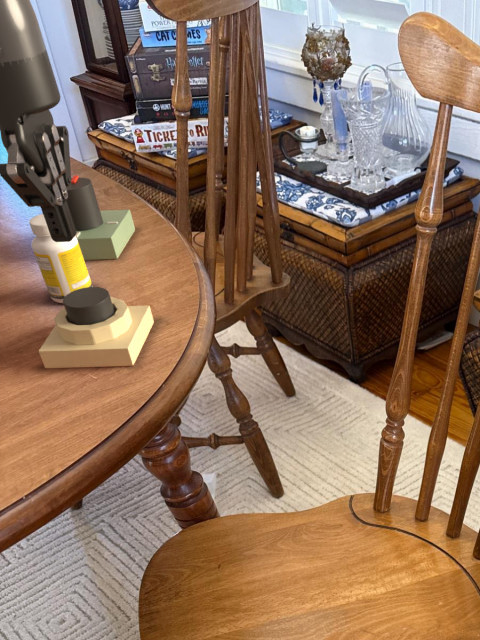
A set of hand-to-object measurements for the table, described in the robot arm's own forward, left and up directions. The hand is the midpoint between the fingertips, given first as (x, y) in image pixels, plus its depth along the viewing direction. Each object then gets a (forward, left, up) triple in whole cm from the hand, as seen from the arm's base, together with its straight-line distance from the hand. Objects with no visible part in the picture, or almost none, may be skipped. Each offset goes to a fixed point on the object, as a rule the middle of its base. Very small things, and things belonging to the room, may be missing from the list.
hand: (65, 238), depth 82 cm
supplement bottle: (-7, +13, -13) cm, 20 cm away
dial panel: (-9, +29, -13) cm, 33 cm away
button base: (0, 0, -13) cm, 13 cm away
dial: (-9, +29, -10) cm, 32 cm away
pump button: (0, 0, -9) cm, 9 cm away
